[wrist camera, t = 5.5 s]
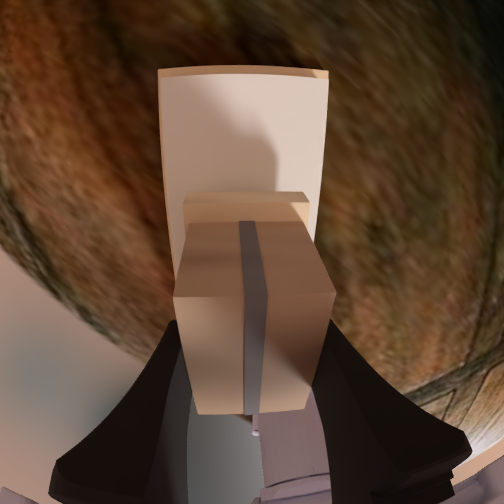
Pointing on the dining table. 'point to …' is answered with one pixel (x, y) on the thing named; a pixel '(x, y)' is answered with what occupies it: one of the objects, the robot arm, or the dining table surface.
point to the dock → (240, 134)
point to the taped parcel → (250, 301)
